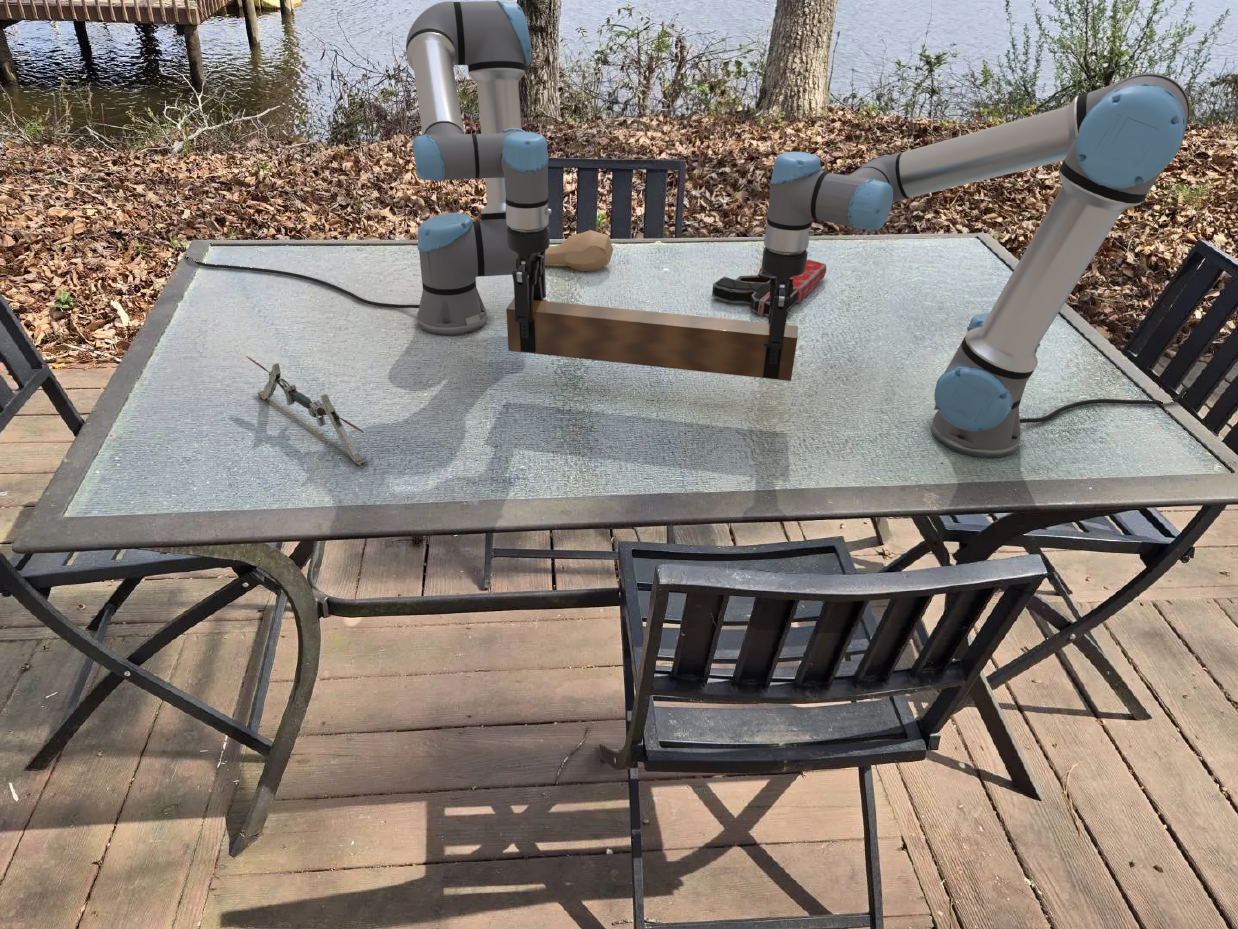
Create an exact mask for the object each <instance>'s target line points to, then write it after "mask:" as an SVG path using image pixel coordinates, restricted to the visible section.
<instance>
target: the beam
mask: <svg viewBox="0 0 1238 929" xmlns="http://www.w3.org/2000/svg"><path fill="white" fill-rule="evenodd" d="M505 310H506V332H507V350H508V352H515V353H525V354H534V355H544V356H552V357H562V358H572V359H581V360H590V361H600V362H607V363H608V362H609V363H617V364H627V365H637V366H646V367H656V368H665V369H674V370H684V371H693V372H695V371H696V372H701V373H702V372H703V373H711V374H720V375H730V376H731V375H732V376H738V377H748V378H749V377H750V378H758V379H764V378H763V372H764V364H765V356H766V347H767V346H764V342H768V340H769V330H770V323H769V322H763V321H762V322H761V321H752V320H741V319H730V318H720V317H709V316H701V315H691V314H680V313H671V312H660V311H650V310H640V309H629V308H619V307H609V306H599V305H590V304H580V303H579V304H578V303H568V302H560V301H559V302H557V301H550V300H549V301H548V300H547V301H539V300H533V319H534V323H535V353H531V352H522V351H521V348H520V326H519V322H516V321H515V320H514V318H515V301H514V298H513V299H512V300H511V301H510V303H509V304H508V305H507V307H506V309H505ZM798 331H799V326H798V325H792V324H786V325H785V332H784V340H783V344H784V345H783V348H782V352H781V360H780V367H779V375H778V379H775V378H766V379H767V380H768V379H769V380H775V381H776V380H777V381H786V382H791V381H792V377H793V376H792V375H793V370H794V364H795V357H796V351H797V344H798V336H799V335H798V333H799V332H798Z"/></svg>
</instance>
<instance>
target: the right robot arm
mask: <svg viewBox="0 0 1238 929" xmlns="http://www.w3.org/2000/svg"><path fill="white" fill-rule="evenodd" d="M1190 107H1191V106H1190V101H1189V98H1188V94H1187V93H1186V90H1185V89H1184V88H1183V86H1182V85H1181V84H1179V83H1178V82H1177V80H1175V79H1173V78H1171V77H1169V76H1167V75H1165V74H1160V73H1156V72H1155V73H1152V72H1151V73H1149V72H1146V73H1141V74H1134V75H1131V76H1130V77H1126V78H1123V79H1122V80H1119V81H1117V82H1115V83H1112V84H1109V85H1106V86H1104V87H1101V88H1099V89H1096V90H1092V91H1089V92H1086V93H1082V94H1078V95H1076V96H1075V97H1074V98H1073V100H1072V101H1071V103H1070V104H1068V105H1066V106H1064V107H1060V108H1056V109H1052V110H1049V111H1045V112H1041V113H1038V114H1034V115H1030V116H1028V117H1027V116H1026V117H1023V118H1019V119H1016V120H1013V121H1009V122H1005V123H1001V124H999V125H996V126H991V127H988V128H983V129H981V130H978V131H974V132H970V133H967V134H963V135H960V136H955V137H952V138H949V139H946V140H942V141H938V142H934V143H930V144H927V145H925V146H924V145H923V146H920V147H917V148H913V149H910V150H906V151H903V152H900V153H895V154H883V155H879V156H876V157H874V158H870V159H869V160H868V161H867V162H866V163H864V164H863V165H862V166H860V167H859V168H857V169H856V170H854V171H853V172H852V173H850V174H848V175H847V174H840V173H833V172H828V171H826V170H825V171H824V170H822V166H821V159H820V157H819V156H818V155H817V154H812V153H810V152H805V151H786V152H783V153H781V154H779V155H777V156H776V157H775V159H774V162H773V167H772V174H771V180H770V182H769V185H770V187H769V196H768V198H769V199H768V208H767V217H766V221H765V222H766V223H765V230H764V238H763V245H764V248H763V251H762V258H761V259H762V261H761V267H762V268H763V270H764V271H765V272H767V273H769V274H773V275H774V277H770V310H769V316H767V320H768V323H770V330H769V340H768V342H764V346H767V347H766V356H765V364H764V372H763V378H762V379H767V378H775V379H774V380H776V379H778V375H779V367H780V360H781V352H782V348H783V345H784V344H783V340H784V332H785V325H787V324H786V323H787V317H788V316H787V311H788V310H789V309H788V308H789V306H790V297H791V294H792V292H793V278H790V277H793V276H798V275H801V274H802V273H804V271H805V269H806V262H807V260H808V255H809V252H808V250H807V249H808V248H809V246H810V245H809V244H810V237H813V236H814V235H815V231H814V230H813V229H812V225H813V220H817V221H821V222H826V223H831V224H836V225H841V226H844V227H851V228H854V229H857V230H870V231H878V230H880V229H882V228H883V226H885V224H886V221H887V220H888V218H889V216H890V213H891V210H892V206H893V203H897V202H901V201H905V200H908V199H911V198H915V197H920V196H924V195H928V194H932V193H935V192H936V193H937V192H940V191H944V190H948V189H952V188H957V187H961V186H964V185H965V186H966V185H969V184H973V183H977V182H981V181H986V180H989V179H994V178H997V177H1002V176H1006V175H1010V174H1014V173H1018V172H1022V171H1027V170H1031V169H1035V168H1039V167H1043V166H1047V165H1051V164H1055V163H1060V162H1062V163H1061V165H1060V166H1059V168H1058V175H1059V178H1060V182H1061V187H1060V188H1059V191H1058V193H1057V194H1056V196H1055V198H1054V200H1053V201H1052V203H1051V205H1050V207H1049V208H1048V211H1047V212H1046V214H1045V215H1044V217H1043V219H1042V221H1041V222H1040V224H1039V226H1038V228H1037V230H1036V231H1035V233H1034V235H1033V236H1032V238H1031V240H1030V241H1029V243H1028V245H1027V247H1026V249H1025V250H1024V253H1023V254H1022V256H1021V257H1020V259H1019V261H1018V263H1017V264H1016V266H1015V268H1014V270H1013V272H1012V273H1011V275H1010V277H1009V279H1008V280H1007V282H1006V283H1005V285H1004V287H1003V289H1002V291H1001V293H1000V294H999V296H998V297H997V299H996V302H995V303H994V305H993V307H992V308H991V310H990V312H988V313H987V312H986V313H979V314H976V315H974V316H973V317H971V319H970V321H969V324H968V326H967V327H966V330H967V331H966V334H965V336H964V337H963V339H962V341H961V343H960V345H959V346H958V348H957V350H956V351H955V353H954V355H953V357H952V358H951V360H950V362H949V364H948V366H947V367H946V369H945V370H944V373H942V374H941V375H939V377H938V379H937V381H936V383H935V384H936V385H935V389H934V396H933V397H934V398H933V399H934V404H935V405H934V411H936V413H935V414H934V416H933V417H932V418H933V419H932V422H931V425H930V430H931V434H932V435H933V436H934V438H935V439H936V440H937V441H938V442H939V443H941V444H942V445H943V446H945V447H947V448H949V450H950V449H951V450H953V451H955V452H957V453H961V454H963V455H967V456H971V457H976V458H986V459H992V458H993V459H995V458H1003V457H1006V456H1009V455H1011V454H1013V453H1014V452H1015V451H1016V450H1017V449H1018V446H1019V444H1020V440H1021V424H1026V423H1027V424H1028V423H1029V424H1031V423H1034V424H1035V423H1042V422H1046V421H1048V420H1051V419H1052V418H1053V417H1056V416H1057V415H1059V414H1061V413H1063V412H1065V411H1068V410H1071V409H1074V408H1076V407H1082V406H1087V405H1093V404H1117V405H1118V404H1119V405H1164V404H1163V402H1161V401H1159V400H1160V399H1157V400H1156V399H1155V400H1156V401H1149V400H1150V399H1119V398H1095V399H1086V400H1085V399H1084V400H1081V401H1076V402H1072V403H1069V404H1066V405H1063V406H1061V407H1059V408H1057V409H1055V410H1054V411H1052V412H1051V413H1049V414H1046V415H1044V416H1041V417H1026V418H1025V417H1024V418H1020V404H1021V402H1022V398H1023V395H1024V392H1025V389H1026V386H1027V383H1028V381H1029V379H1030V378H1031V376H1032V375H1033V373H1034V372H1035V370H1036V368H1037V367H1038V363H1039V361H1038V358H1037V355H1036V354H1037V351H1038V349H1039V348H1040V346H1041V341H1042V340H1043V339H1044V336H1045V335H1046V333H1047V332H1048V331H1049V329H1050V327H1051V325H1052V324H1053V323H1054V321H1055V319H1056V318H1057V316H1058V314H1059V313H1060V312H1061V310H1062V308H1063V306H1064V305H1065V303H1066V301H1067V300H1068V299H1069V297H1070V295H1071V294H1072V292H1073V291H1074V289H1075V287H1076V286H1077V284H1078V283H1079V281H1080V279H1081V278H1082V276H1083V274H1084V273H1085V272H1086V270H1087V268H1088V267H1089V265H1090V264H1091V262H1092V260H1094V258H1095V256H1096V254H1097V252H1098V251H1099V249H1100V248H1101V246H1102V244H1103V243H1104V242H1105V240H1106V238H1107V237H1108V236H1109V233H1110V232H1111V230H1112V228H1113V227H1114V225H1115V224H1116V222H1117V221H1118V219H1119V218H1120V216H1121V214H1122V213H1123V212H1124V211H1126V210H1128V209H1130V208H1134V207H1137V206H1140V205H1141V204H1142V203H1143V202H1144V200H1145V198H1146V197H1147V196H1148V194H1149V192H1150V191H1151V189H1152V188H1153V187H1154V185H1155V183H1156V181H1157V180H1158V179H1159V177H1160V175H1161V174H1162V172H1163V171H1164V170H1165V169H1166V167H1168V166H1169V165H1170V164H1171V163H1172V161H1174V159H1175V157H1176V156H1177V154H1178V153H1179V151H1180V149H1181V146H1182V144H1183V142H1184V138H1185V134H1186V133H1185V132H1186V129H1187V126H1188V123H1189V121H1190V120H1189V119H1190V114H1191V109H1190ZM787 309H788V310H787ZM1186 393H1190V389H1189V387H1188V386H1184V387H1183V388H1181V390H1180V392H1179V393H1178V394H1176V396H1175V397H1173V398H1171V399H1172V400H1173V401H1174V403H1176V402H1179V401H1180V400H1181V399H1182V398H1183V397H1184V395H1185V394H1186Z"/></svg>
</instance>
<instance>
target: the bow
mask: <svg viewBox="0 0 1238 929" xmlns="http://www.w3.org/2000/svg"><path fill="white" fill-rule="evenodd" d="M245 357H246V358H247V359H248V360H250V361H251V362H253V364H255V365H256V366H257V367H259V368H261V369H262V370H263V371H265V372H267V373H268V381H267V382H266V384H265V386H264V387H263V388H264V389H263V390H261V391H258V392H257V397H259V398H260V399H262V400H267V401H269V402H270V403H271V404H272V405H275V406H276V407H277V408H278V409H280V410H282V411H283V412H285V413H286V414H287V415H289V416H290V417H292V418H293V419H295V420H296V421H298V422H299V423H301V424H302V425H304V426H305V427H306V428H308V429H310V430H311V431H312V432H314V433H315V434H317V435H318V436H319V437H321V438H323V439H324V440H325V441H327V442H329V443H330V444H332V445H333V446H334V447H335V448H337V449H339V450H340V451H342V452H343V453H344V454H346V455H347V456H348V457H350V459H351V460H352V461H353V462H354V464H356V465H359V466H362V464H365V463H367V461H366V460H365V458H364V457H362V456H361V455H360V453H359V452H358V451H357V449H356V447H355V445H354V443H353V441H352V440H351V438H350V436H349V434H348V432H347V430H346V429H345V427H344V425H343V423H346V424H347V425H348V426H350V427H352V428H353V429H355V430H357V431H358V432H360V433H362V434H364V433H365V431H364V430H362V429H361V428H360V427H358V426H356V425H355V424H353V423H351V422H350V421H348V420H346V419H344V418H342V417H340V415H339V414H338V412H337V411H336V408H335V407H334V405H333V403H332V402H331V399H330V398H329V395H328V394H327V393H324V394H321V395H320V399H321V401H320V399H317V400H315V401H312V400H311V398H309V397H308V396H307V395H305V394H304V393H302V392H300V391H298V390H297V386H296V384H291V385H290V383H289V382H288V381H287V380H286V379H284V378H282V376H281V375H282V372H281V367H280V363H278V362H277V363H274V364H272V365H271V366H272V367H271V368H272V369H271V371H269V370H268V369H266V368H265V367H264V366H263V365H262V364H260V363H259V362H257V361H256V360H254V359H252V358H251V357H249V356H248V355H245ZM277 385H279V387H280V388H281V389H282V391H283V393H284V395H285V402H286V405H287V406H289V407H290V406H292V405H295V404H296V403H298V404H299V405H300V406H301V407H303V408H305V409H307V410H308V414H309V415H310V416H311V417H312V418H313V419H314V418H315V419H316V422H317V426H318V427H320V428H321V427H323V426H327V423H326V418H325V417H324V416H327V417H328V419H329V421H330V423H331V425H332V428H334V431H335V433H336V434H337V437H338V438H339V440H340V442H341V443H342V444H343V448H344V449H343V448H341V447H339V446H338V445H336V444H335V443H334V442H332V441H330V439H328V438H326V437H325V436H323V435H322V434H320V433H319V432H318V431H316V430H314V429H313V428H312V427H310V426H309V425H307V424H306V423H304V422H303V421H301V420H300V419H298V418H297V417H295V416H294V415H293V414H291V413H290V412H288V411H287V410H285V409H284V408H283V407H281V406H279V405H278V404H276V402H273V401H272V400H270V398H271V397H272V396H273V395H274V393H275V391H276V390H277ZM342 422H343V423H342Z"/></svg>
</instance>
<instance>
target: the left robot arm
mask: <svg viewBox="0 0 1238 929" xmlns="http://www.w3.org/2000/svg"><path fill="white" fill-rule="evenodd" d="M405 53H406V60H407V64H408V65H409V68H411V70H412V71H413V73H414V80H415V81H414V82H415V88H416V97H417V105H418V112H419V113H418V114H419V121H420V127H421V134H422V135H417V136H414V137H413V140H412V146H413V156H414V165H415V173H416V176H417V177H418V178H419V179H420V180H423V181H437V182H441V181H442V182H443V181H454V180H470V179H471V180H472V179H484V184H485V196H486V204H485V206H484V207H483V209H482V210H481V211H480V220H477V221H473V218H472V217H471V216H470V215H469V214H468V213H464V212H460V213H459V212H447V213H442V214H441V213H440V214H437V215H434V216H431V217H429V218H427V219H426V220H424V221H423V222H421V224H419V226H418V229H417V247H416V248H417V250H418V252H419V253H418V254H419V263H420V275H421V276H420V277H421V284H422V292H421V297H420V302H419V304H397V303H385V302H377V301H372V300H368V299H365V298H362V297H360V296H358V295H357V294H355V293H353V292H351V291H349V290H346V289H344V288H343V287H340V286H338V285H335V284H332V283H330V282H327V281H324V280H322V279H318V278H315V277H312V276H307V275H304V274H299V273H295V272H289V271H284V270H277V269H270V268H263V267H262V268H260V267H254V266H253V267H252V268H250V267H251V266H241V267H240V265H231V264H217V265H215V263H207V262H202V261H199V262H196V261H195V262H194V263H195V264H196V265H199V266H200V267H201V266H202V267H207V268H215V269H216V268H217V269H218V268H219V269H230V270H241V271H249V272H250V271H251V272H259V273H260V272H261V273H269V274H276V275H282V276H288V277H294V278H299V279H303V280H307V281H311V282H314V283H317V284H320V285H323V286H326V287H328V288H331V289H333V290H336V291H339V293H340V292H341V293H343V294H345V295H347V296H349V297H352V298H353V299H355V300H357V301H358V302H361V303H363V304H367V305H370V306H375V307H381V308H393V309H418V310H417V315H416V318H417V325H418V326H419V328H420V329H421V330H423V331H424V332H427V333H430V334H433V335H440V336H459V335H465V334H469V333H473V332H476V331H477V330H480V329H481V328H483V327H484V326H485V325H486V323H487V320H488V316H487V310H486V306H485V304H484V302H483V299H482V298H481V295H480V293H479V291H478V288H477V278H481V277H497V276H499V277H500V276H512V282H513V294H514V295H513V297H514V298H513V299H514V301H515V318H514V320H515V321H516V322H519V326H520V348H521V351H522V352H521V353H524V352H531V353H530V354H533V353H535V323H534V319H533V300H539V301H548V300H546V298H547V289H546V288H547V287H546V286H547V285H546V265H545V250H546V249H548V247H550V246H551V245H550V244H551V242H550V241H551V240H550V227H549V226H548V225H549V223H550V215H552V213H553V210H552V209H551V208H549V161H550V160H549V159H550V158H549V156H550V155H549V153H548V142H547V138H546V137H545V136H544V135H542V134H539V133H538V132H534V131H526V130H524V129H522V115H521V114H522V113H521V102H520V90H519V86H520V85H519V82H520V80H521V79H522V78H523V76H524V75H525V74H526V69H525V68H526V67H525V66H528V65H530V64H531V62H532V46H531V36H530V30H529V27H528V23H527V19H526V16H525V13H524V11H523V8H522V7H521V6H520V5H519V4H518V3H516V2H514V1H513V2H512V1H501V0H485V1H482V0H481V1H480V0H479V1H452V0H450V1H448V0H447V1H442V2H437V3H436V4H433V5H431V6H429V7H428V8H427V9H425V10H424V11H423V12H421V14H419V16H417V18H416V19H415V20H414V21H413V23H412V25H411V27H410V28H409V31H408V33H407V37H406V43H405ZM455 66H467V71H468V72H467V73H468V77H470V79H472V81H474V82H475V83H476V84H475V85H476V90H477V102H478V103H477V104H478V111H479V125H480V133H465V129H464V124H463V118H462V111H461V106H460V100H459V93H458V88H457V82H456V76H455V70H454V68H455ZM185 258H186V255H185V256H184V259H185ZM189 258H190V257H188V259H189ZM205 263H206V264H205ZM229 265H230V266H229Z"/></svg>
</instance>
